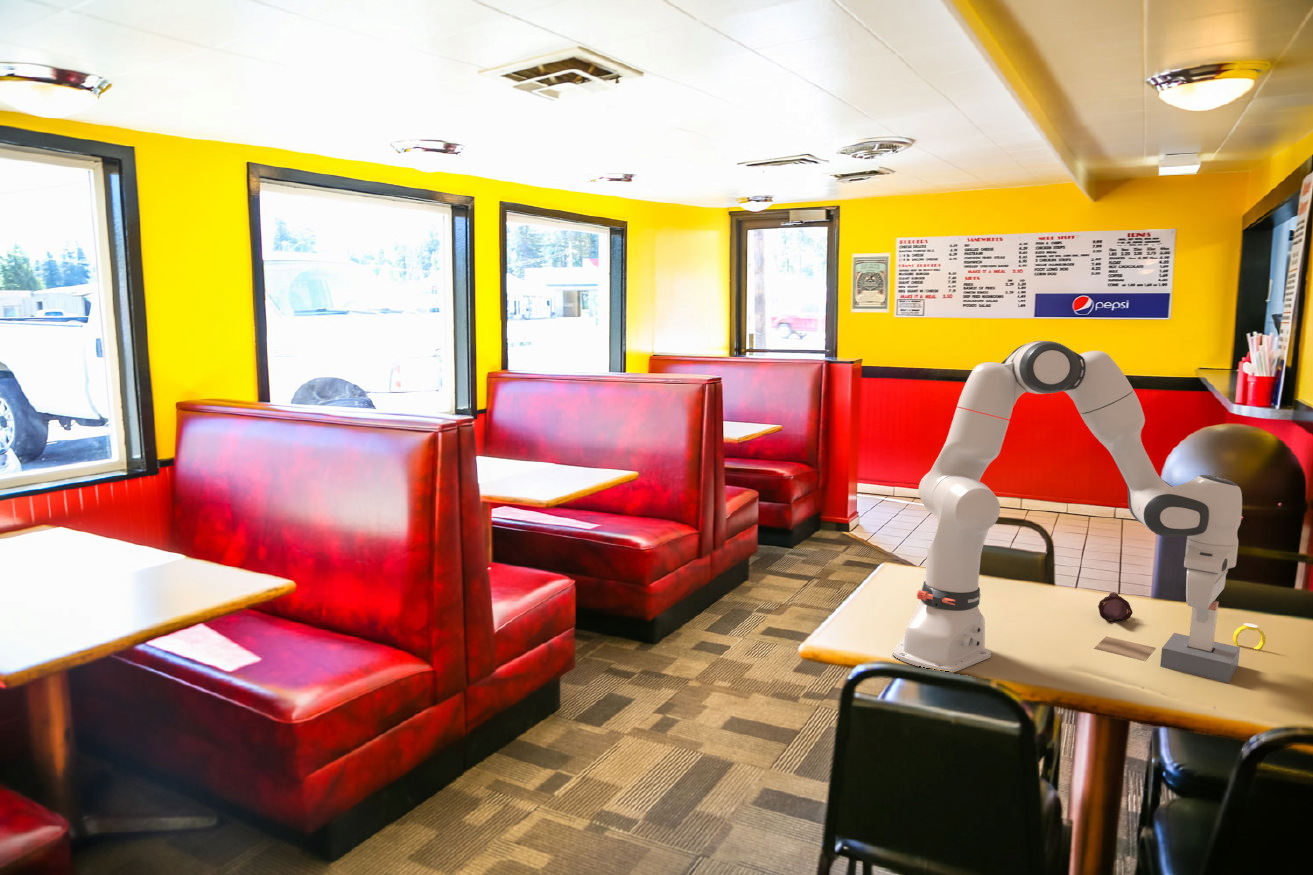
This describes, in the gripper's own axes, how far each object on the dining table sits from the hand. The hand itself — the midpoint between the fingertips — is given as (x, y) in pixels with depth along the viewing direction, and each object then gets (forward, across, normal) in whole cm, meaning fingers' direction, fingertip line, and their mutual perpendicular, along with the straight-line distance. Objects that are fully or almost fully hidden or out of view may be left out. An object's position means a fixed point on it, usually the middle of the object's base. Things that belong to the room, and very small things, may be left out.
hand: (1203, 618), depth 175 cm
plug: (+6, 0, 0) cm, 6 cm away
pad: (+11, 0, -14) cm, 18 cm away
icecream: (+12, -20, -21) cm, 31 cm away
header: (+11, 0, 0) cm, 11 cm away
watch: (+11, -21, +6) cm, 25 cm away
